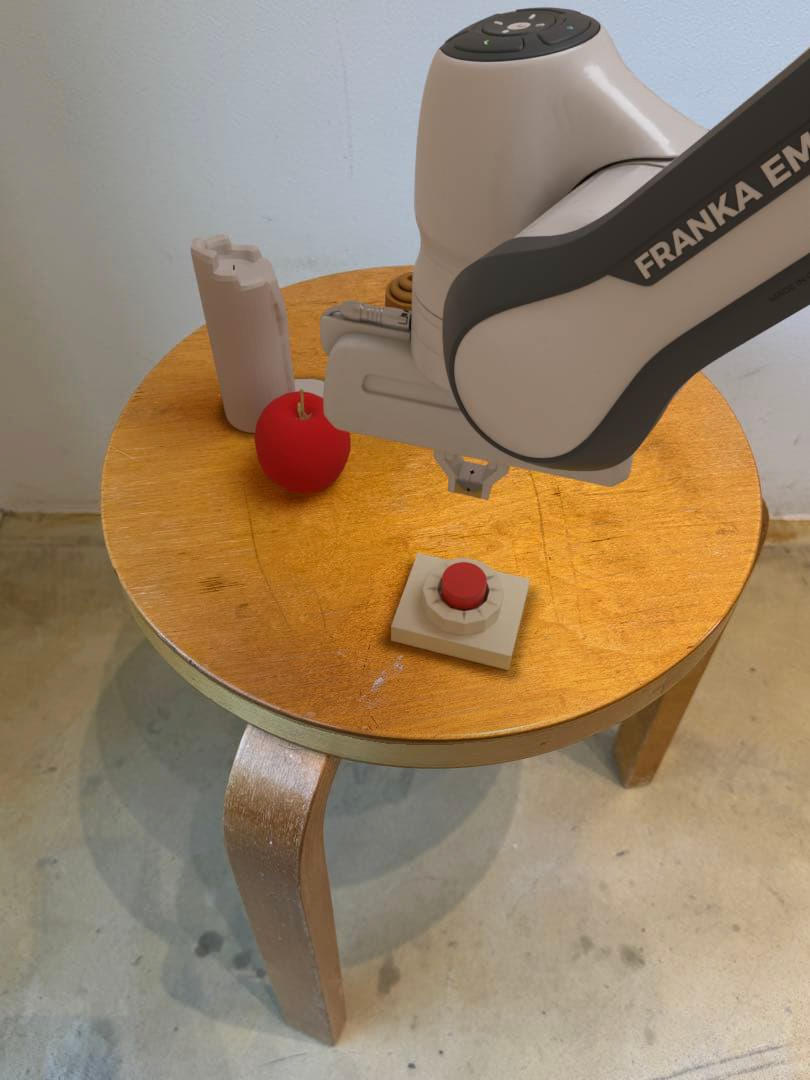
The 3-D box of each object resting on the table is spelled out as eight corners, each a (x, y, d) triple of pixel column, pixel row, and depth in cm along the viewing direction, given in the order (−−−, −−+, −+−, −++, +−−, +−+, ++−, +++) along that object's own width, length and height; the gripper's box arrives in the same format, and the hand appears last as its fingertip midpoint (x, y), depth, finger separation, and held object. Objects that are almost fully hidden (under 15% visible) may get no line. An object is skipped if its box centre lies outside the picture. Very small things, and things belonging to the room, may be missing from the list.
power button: (489, 580, 70) (491, 567, 69) (479, 614, 68) (481, 602, 67) (447, 570, 71) (448, 557, 70) (436, 604, 69) (436, 591, 67)
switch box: (527, 593, 74) (533, 565, 71) (508, 670, 69) (513, 644, 66) (417, 567, 76) (417, 539, 73) (390, 640, 71) (390, 613, 68)
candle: (364, 415, 88) (355, 241, 73) (230, 439, 86) (192, 264, 70) (349, 371, 93) (338, 198, 77) (221, 393, 90) (184, 219, 75)
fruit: (371, 480, 82) (368, 402, 75) (293, 524, 79) (281, 446, 71) (318, 428, 87) (310, 349, 79) (241, 467, 83) (225, 388, 76)
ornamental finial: (454, 330, 97) (427, 368, 93) (395, 312, 99) (366, 349, 95) (458, 268, 91) (429, 306, 87) (395, 251, 93) (364, 287, 89)
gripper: (298, 326, 49) (315, 489, 60) (658, 395, 45) (607, 555, 56) (334, 267, 53) (344, 430, 63) (668, 326, 49) (619, 488, 60)
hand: (470, 489), depth 60 cm, fingers closed
